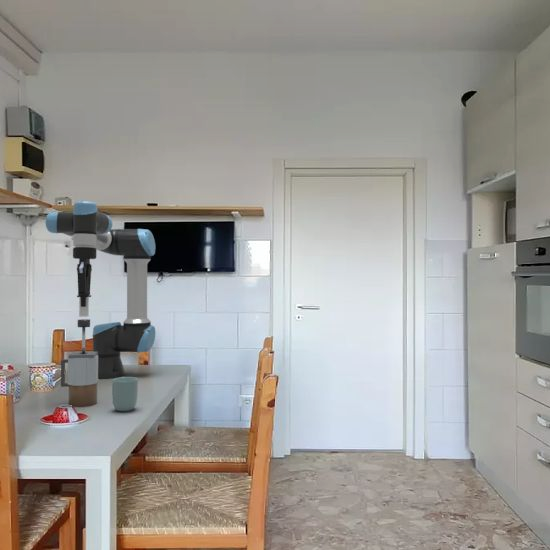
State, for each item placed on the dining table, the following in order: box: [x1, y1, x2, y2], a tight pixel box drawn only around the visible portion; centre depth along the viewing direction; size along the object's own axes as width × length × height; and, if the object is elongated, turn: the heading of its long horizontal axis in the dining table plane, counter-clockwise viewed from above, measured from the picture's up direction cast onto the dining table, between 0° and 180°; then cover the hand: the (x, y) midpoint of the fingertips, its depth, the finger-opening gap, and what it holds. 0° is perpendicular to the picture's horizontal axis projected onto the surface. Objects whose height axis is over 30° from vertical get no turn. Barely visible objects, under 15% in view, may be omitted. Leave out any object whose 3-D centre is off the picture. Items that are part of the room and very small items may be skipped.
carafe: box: [60, 351, 99, 408], centre depth 168 cm, size 9×12×17 cm
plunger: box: [77, 318, 91, 354], centre depth 168 cm, size 7×7×14 cm
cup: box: [111, 376, 139, 412], centre depth 160 cm, size 8×8×10 cm
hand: (83, 316), depth 168 cm, fingers closed
